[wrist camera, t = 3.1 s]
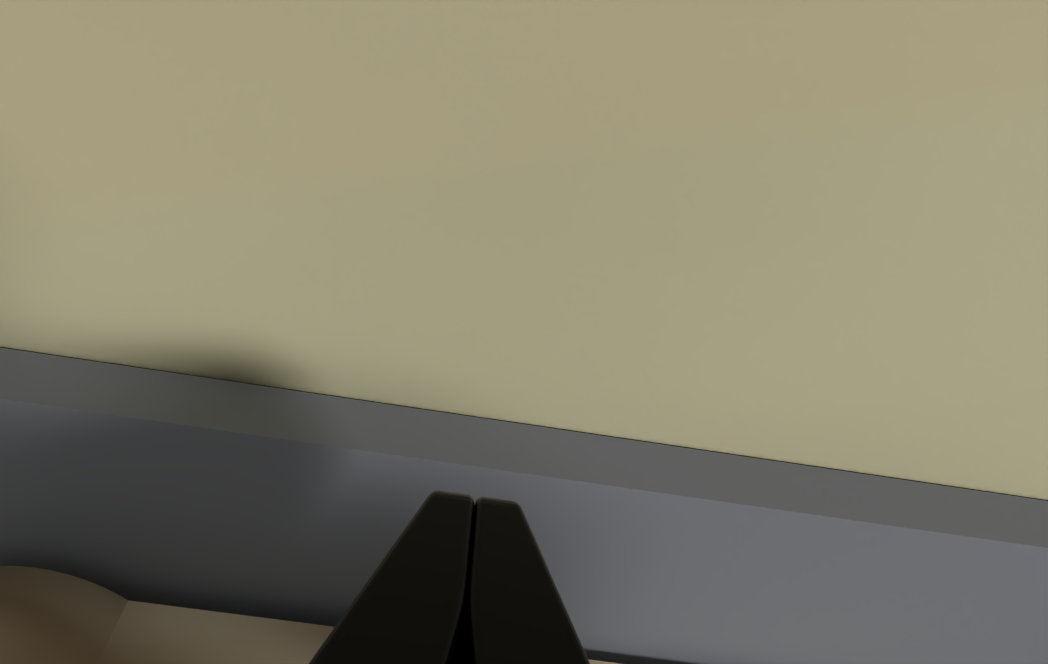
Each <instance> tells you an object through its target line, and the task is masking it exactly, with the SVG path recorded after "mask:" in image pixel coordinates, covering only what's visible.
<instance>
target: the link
mask: <svg viewBox="0 0 1048 664" xmlns="http://www.w3.org/2000/svg"><path fill="white" fill-rule="evenodd" d="M333 629H334V627H332V626H324V625H316V624H309V623H301V622H293V621H285V620H277V619H270V618H262V617H254V616H246V615H238V614H231V613H223V612H215V611H207V610H199V609H192V608H184V607H176V606H168V605H161V604H153V603H145V602H137V601H129V600H127V599H125V598H123V597H122V596H120V595H118V594H116V593H114V592H112V591H110V590H108V589H106V588H104V587H102V586H99V585H97V584H94V583H92V582H90V581H87V580H84V579H81V578H78V577H75V576H72V575H68V574H64V573H60V572H56V571H52V570H46V569H40V568H34V567H24V566H0V664H309V662H310V661H311V660H312V658H313V657H314V655H315V654H316V653H317V651H318V650H319V648H320V647H321V646H322V644H323V643H324V641H325V640H326V639H327V637H328V636H329V634H330V633H331V632H332V630H333ZM588 660H589V659H588ZM589 662H590V664H620V663H613V662H605V661H597V660H589Z"/></svg>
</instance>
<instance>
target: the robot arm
mask: <svg viewBox="0 0 1048 664" xmlns="http://www.w3.org/2000/svg"><path fill="white" fill-rule="evenodd" d="M309 664H590V662H589V660H588V658H587V655H586V653H585V651H584V649H583V646H582V644H581V642H580V639H579V637H578V635H577V633H576V630H575V628H574V626H573V624H572V621H571V619H570V617H569V614H568V612H567V610H566V608H565V605H564V603H563V601H562V599H561V596H560V594H559V592H558V589H557V587H556V585H555V583H554V580H553V578H552V576H551V574H550V571H549V569H548V567H547V564H546V562H545V560H544V558H543V555H542V553H541V551H540V548H539V546H538V544H537V542H536V539H535V537H534V535H533V533H532V530H531V528H530V526H529V523H528V521H527V519H526V517H525V514H524V512H523V510H522V508H521V506H520V505H519V504H518V503H517V502H515V501H511V500H504V499H496V498H489V497H480V498H478V499H477V500H476V502H475V504H474V499H473V497H471V496H470V495H468V494H461V493H453V492H446V491H433V492H432V493H431V494H429V495H428V497H427V498H426V499H425V501H424V502H423V504H422V505H421V506H420V508H419V509H418V511H417V512H416V513H415V515H414V516H413V518H412V519H411V520H410V522H409V523H408V525H407V526H406V527H405V529H404V530H403V532H402V533H401V534H400V536H399V537H398V539H397V540H396V542H395V543H394V544H393V546H392V547H391V549H390V550H389V551H388V553H387V554H386V556H385V557H384V558H383V560H382V561H381V563H380V564H379V565H378V567H377V568H376V570H375V571H374V572H373V574H372V575H371V577H370V578H369V579H368V581H367V582H366V584H365V585H364V587H363V588H362V589H361V591H360V592H359V594H358V595H357V596H356V598H355V599H354V601H353V602H352V603H351V605H350V606H349V608H348V609H347V610H346V612H345V613H344V615H343V616H342V617H341V619H340V620H339V622H338V623H337V624H336V626H335V627H334V629H333V630H332V632H331V633H330V634H329V636H328V637H327V639H326V640H325V641H324V643H323V644H322V646H321V647H320V648H319V650H318V651H317V653H316V654H315V655H314V657H313V658H312V660H311V661H310V662H309Z"/></svg>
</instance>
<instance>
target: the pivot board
mask: <svg viewBox="0 0 1048 664" xmlns="http://www.w3.org/2000/svg"><path fill="white" fill-rule="evenodd" d="M433 491H446V492H453V493H461V494H468V495H470V496H471V497H473V499H474V504H475V502H476V500H477V499H478V498H480V497H489V498H496V499H504V500H511V501H515V502H517V503H518V504H519V505H520V506H521V508H522V510H523V512H524V514H525V517H526V519H527V521H528V523H529V526H530V528H531V530H532V533H533V535H534V537H535V539H536V542H537V544H538V546H539V548H540V551H541V553H542V555H543V558H544V560H545V562H546V564H547V567H548V569H549V571H550V574H551V576H552V578H553V580H554V583H555V585H556V587H557V589H558V592H559V594H560V596H561V599H562V601H563V603H564V605H565V608H566V610H567V612H568V614H569V617H570V619H571V621H572V624H573V626H574V628H575V630H576V633H577V635H578V637H579V639H580V642H581V644H582V646H583V649H584V651H585V653H586V655H587V658H588V659H589V660H597V661H605V662H613V663H620V664H1048V501H1045V500H1038V499H1031V498H1025V497H1018V496H1011V495H1004V494H997V493H990V492H984V491H977V490H970V489H963V488H956V487H949V486H943V485H936V484H929V483H922V482H915V481H908V480H902V479H895V478H888V477H881V476H874V475H867V474H861V473H854V472H847V471H840V470H833V469H826V468H820V467H813V466H806V465H799V464H792V463H786V462H779V461H772V460H765V459H758V458H751V457H745V456H738V455H731V454H724V453H717V452H710V451H704V450H697V449H690V448H683V447H676V446H669V445H663V444H656V443H649V442H642V441H635V440H628V439H622V438H615V437H608V436H601V435H594V434H587V433H581V432H574V431H567V430H560V429H553V428H547V427H540V426H533V425H526V424H519V423H512V422H506V421H499V420H492V419H485V418H478V417H471V416H465V415H458V414H451V413H444V412H437V411H430V410H424V409H417V408H410V407H403V406H396V405H389V404H383V403H376V402H369V401H362V400H355V399H348V398H342V397H335V396H328V395H321V394H314V393H308V392H301V391H294V390H287V389H280V388H273V387H267V386H260V385H253V384H246V383H239V382H232V381H226V380H219V379H212V378H205V377H198V376H191V375H185V374H178V373H171V372H164V371H157V370H150V369H144V368H137V367H130V366H123V365H116V364H109V363H103V362H96V361H89V360H82V359H75V358H68V357H62V356H55V355H48V354H41V353H34V352H28V351H21V350H14V349H7V348H0V566H24V567H34V568H40V569H46V570H52V571H56V572H60V573H64V574H68V575H72V576H75V577H78V578H81V579H84V580H87V581H90V582H92V583H94V584H97V585H99V586H102V587H104V588H106V589H108V590H110V591H112V592H114V593H116V594H118V595H120V596H122V597H123V598H125V599H127V600H129V601H137V602H145V603H153V604H161V605H168V606H176V607H184V608H192V609H199V610H207V611H215V612H223V613H231V614H238V615H246V616H254V617H262V618H270V619H277V620H285V621H293V622H301V623H309V624H316V625H324V626H332V627H335V626H336V624H337V623H338V622H339V620H340V619H341V617H342V616H343V615H344V613H345V612H346V610H347V609H348V608H349V606H350V605H351V603H352V602H353V601H354V599H355V598H356V596H357V595H358V594H359V592H360V591H361V589H362V588H363V587H364V585H365V584H366V582H367V581H368V579H369V578H370V577H371V575H372V574H373V572H374V571H375V570H376V568H377V567H378V565H379V564H380V563H381V561H382V560H383V558H384V557H385V556H386V554H387V553H388V551H389V550H390V549H391V547H392V546H393V544H394V543H395V542H396V540H397V539H398V537H399V536H400V534H401V533H402V532H403V530H404V529H405V527H406V526H407V525H408V523H409V522H410V520H411V519H412V518H413V516H414V515H415V513H416V512H417V511H418V509H419V508H420V506H421V505H422V504H423V502H424V501H425V499H426V498H427V497H428V495H429V494H431V493H432V492H433Z"/></svg>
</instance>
